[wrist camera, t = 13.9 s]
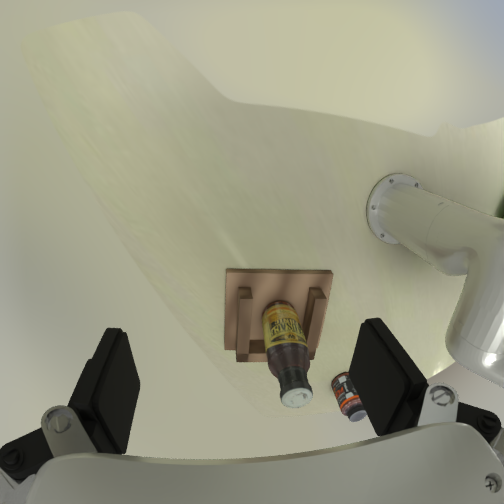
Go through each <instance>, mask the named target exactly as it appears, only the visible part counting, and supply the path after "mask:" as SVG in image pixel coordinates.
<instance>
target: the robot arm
mask: <svg viewBox="0 0 504 504" xmlns="http://www.w3.org/2000/svg"><path fill="white" fill-rule="evenodd" d="M389 180H390V181H389ZM367 220H368V223H369V227H370V228H371V230H372V232H373V233H374V234H375V236H376V237H378V238H379V239H380V240H382V241H384V242H385V243H389V244H400V243H401V244H403V245H404V246H406V247H407V248H408V249H410V250H411V251H413V252H414V253H415V254H417V255H418V256H419V257H421V258H422V259H424V260H425V261H426V262H428V263H429V264H430V265H432V266H433V267H434V268H436V269H437V270H439V271H440V272H442V273H444V274H446V275H450V276H461V275H466V274H467V277H466V280H465V283H464V287H463V290H462V293H461V296H460V298H459V301H458V303H457V306H456V308H455V311H454V313H453V316H452V319H451V321H450V323H449V326H448V329H447V332H446V337H445V344H446V348H447V350H448V352H449V354H450V355H451V356H452V358H453V359H454V360H455V361H456V362H458V363H459V364H460V365H462V366H463V367H465V368H466V369H468V370H470V371H472V372H474V373H475V374H477V375H479V376H481V377H483V378H485V379H487V380H489V381H491V382H493V383H495V384H497V385H499V386H501V387H503V388H504V219H502V218H498V217H494V216H491V215H487V214H484V213H482V212H479V211H476V210H474V209H471V208H469V207H466V206H464V205H461V204H458V203H456V202H453V201H451V200H448V199H446V198H443V197H441V196H438V195H435V194H433V193H430V192H427V191H425V190H424V189H423V187H422V186H421V184H420V183H419V182H418V181H417V180H416V179H415V178H413V177H411V176H409V175H406V174H392V175H389V176H387V177H385V178H383V179H382V180H381V181H380V182H379V183H378V184H377V185H376V186H375V187H374V189H373V191H372V193H371V195H370V197H369V200H368V205H367ZM349 377H350V380H351V382H352V384H353V386H354V388H355V390H356V392H357V394H358V396H359V398H360V400H361V402H362V405H363V407H364V409H365V411H366V413H367V415H368V417H369V419H370V421H371V423H372V426H373V428H374V430H375V432H376V434H377V435H378V436H380V437H376V438H372V439H368V440H365V441H360V442H356V443H351V444H347V445H342V446H338V447H332V448H326V449H321V450H314V451H309V452H302V453H294V454H287V455H278V456H268V457H256V458H242V459H208V460H207V459H203V460H202V459H196V460H195V459H169V458H152V457H140V456H129V455H122V454H125V453H126V449H127V445H128V440H129V435H130V430H131V426H132V421H133V416H134V412H135V408H136V403H137V399H138V395H139V391H140V380H139V376H138V373H137V370H136V366H135V363H134V359H133V355H132V352H131V348H130V344H129V340H128V336H127V333H126V332H123V331H122V329H121V328H107V329H106V331H105V332H104V335H103V336H102V339H101V341H100V343H99V345H98V347H97V349H96V351H95V353H94V355H93V357H92V359H89V360H88V361H87V363H86V365H85V367H84V369H83V371H82V374H81V376H80V378H79V380H78V382H77V385H76V387H75V389H74V392H73V394H72V396H71V398H70V401H69V403H68V406H61V405H59V406H55V407H52V408H50V409H48V410H47V411H46V412H45V413H44V414H43V416H42V419H41V428H39V429H37V430H35V431H33V432H31V433H29V434H26V435H24V436H22V437H20V438H18V439H16V440H13V441H11V442H9V443H7V444H5V445H4V446H2V448H1V449H0V504H504V428H502V427H501V422H500V420H499V418H498V417H497V415H495V414H494V413H492V412H490V411H487V410H484V409H480V408H477V407H474V406H471V405H468V404H464V403H461V402H458V394H457V392H456V391H455V390H454V388H452V387H451V386H449V385H447V384H444V383H434V384H432V385H430V386H429V385H428V383H427V380H426V378H425V377H424V375H423V374H422V373H421V371H420V370H419V369H418V367H417V366H416V365H415V363H414V362H413V360H412V359H411V358H410V356H409V355H408V354H407V352H406V351H405V350H404V348H403V347H402V346H401V344H400V343H399V342H398V340H397V339H396V338H395V337H394V335H393V334H392V333H391V331H390V330H389V329H388V327H387V326H386V325H385V324H384V322H383V321H382V320H381V319H380V318H371V319H366V320H365V322H364V323H362V324H361V327H360V331H359V335H358V339H357V343H356V347H355V350H354V354H353V358H352V361H351V365H350V369H349Z"/></svg>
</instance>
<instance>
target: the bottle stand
mask: <svg viewBox="0 0 504 504" xmlns="http://www.w3.org/2000/svg"><path fill="white" fill-rule="evenodd" d="M332 279H333V273H332V272H331V270H265V269H226V302H225V350H236V362H268V360H267V356H266V349H265V342H264V334H263V328H262V314H263V312H264V310H265V309H266V307H267V306H268V305H270V304H272V303H275V302H279V301H283V302H287V303H289V304H291V305H292V306H293V307H294V309H295V311H296V312H297V314H298V317H299V320H300V324H301V327H302V330H303V333H304V336H305V340H306V343H307V346H308V351H309V359H310V360H314V356H315V352H316V348H318V345H319V341H320V337H321V332H322V328H323V323H324V319H325V314H326V309H327V305H328V300H329V295H330V290H331V285H332Z"/></svg>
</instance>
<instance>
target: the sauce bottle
mask: <svg viewBox="0 0 504 504" xmlns="http://www.w3.org/2000/svg"><path fill="white" fill-rule="evenodd" d="M262 328H263V334H264V342H265V349H266V356H267V360H268V366H269V369H270V371H271V373H272V374H273V375H274V376H275V377H276V378H278V381H279V383H280V388H281V391H280V398H281V402H282V404H283V405H284V406H286V407H289V408H299V407H302V406H304V405H306V404H308V403H309V402H310V401H311V400H312V398H313V393H312V388H311V386H310V385H309V383H308V379H307V372H308V369H309V368H310V359H309V351H308V346H307V343H306V340H305V336H304V333H303V330H302V327H301V324H300V320H299V317H298V314H297V312H296V311H295V309H294V307H293V306H292V305H291V304H289V303H287V302H283V301H279V302H275V303H272V304H270V305H268V306H267V307H266V309H265V310H264V312H263V314H262Z"/></svg>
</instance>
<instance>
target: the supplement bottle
mask: <svg viewBox="0 0 504 504" xmlns="http://www.w3.org/2000/svg"><path fill="white" fill-rule="evenodd" d="M332 389H333V391H334V394H335V396H336V399H337V402H338V404H339V407H340V409H341V412H342V413H343V414H344V415H346V416H348V418H349V420H350V421H351V422H356V421H360V420H362V419H363V418H364V417H365V416H366V415H367V413H366V411H365V409H364V407H363V405H362V402H361V400H360V398H359V396H358V394H357V392H356V390H355V388H354V386H353V384H352V382H351V380H350V377H349V373H343V374H341V375H339V376H337V377H336V378H335V379H334V380H333V382H332Z"/></svg>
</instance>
